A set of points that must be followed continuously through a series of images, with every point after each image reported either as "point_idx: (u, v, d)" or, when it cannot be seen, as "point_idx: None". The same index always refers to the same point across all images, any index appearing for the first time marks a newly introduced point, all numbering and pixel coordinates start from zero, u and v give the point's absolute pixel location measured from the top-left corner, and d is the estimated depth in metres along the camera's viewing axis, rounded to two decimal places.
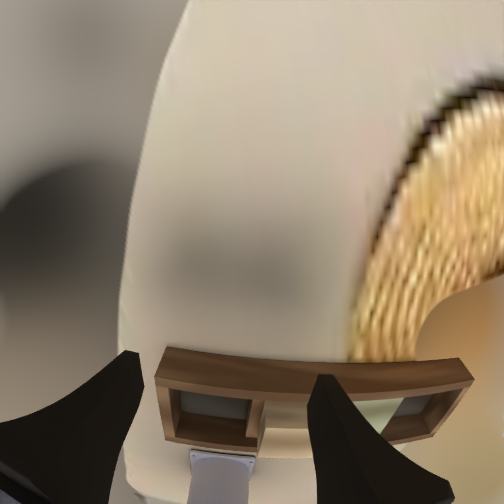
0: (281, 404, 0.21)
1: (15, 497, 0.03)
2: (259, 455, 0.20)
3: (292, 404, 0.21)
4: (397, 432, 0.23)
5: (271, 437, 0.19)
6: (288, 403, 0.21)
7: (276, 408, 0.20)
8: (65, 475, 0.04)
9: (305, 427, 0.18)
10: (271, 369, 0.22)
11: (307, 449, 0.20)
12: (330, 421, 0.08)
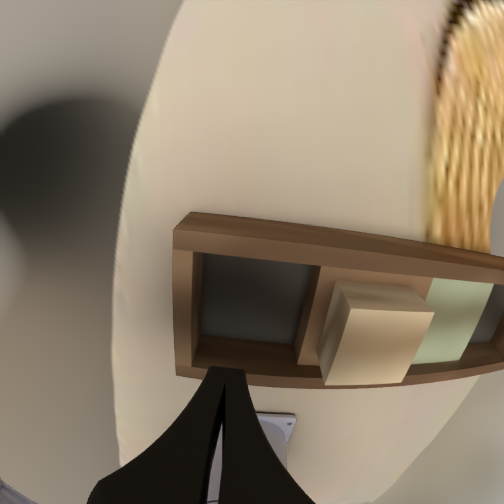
0: (359, 286, 0.15)
1: None
2: (328, 380, 0.14)
3: (374, 287, 0.15)
4: (476, 359, 0.18)
5: (354, 334, 0.13)
6: (368, 285, 0.15)
7: (355, 289, 0.14)
8: None
9: (404, 310, 0.13)
10: (341, 234, 0.16)
11: (397, 362, 0.14)
12: (224, 417, 0.08)
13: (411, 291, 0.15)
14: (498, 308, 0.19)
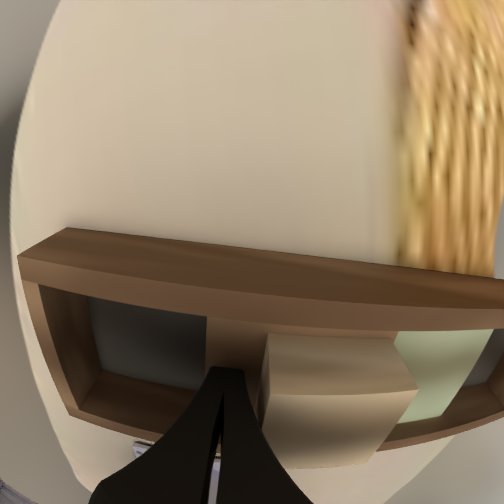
0: (304, 344, 0.10)
1: None
2: None
3: (327, 345, 0.10)
4: (464, 412, 0.13)
5: (282, 422, 0.08)
6: (319, 342, 0.10)
7: (293, 351, 0.09)
8: None
9: (366, 392, 0.08)
10: (247, 259, 0.11)
11: (358, 447, 0.09)
12: (223, 416, 0.08)
13: (389, 348, 0.10)
14: (499, 344, 0.14)
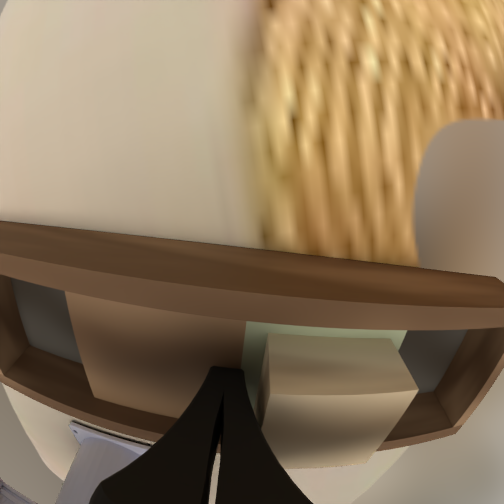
0: (304, 344, 0.10)
1: None
2: None
3: (327, 345, 0.10)
4: None
5: (282, 422, 0.08)
6: (319, 342, 0.10)
7: (293, 351, 0.09)
8: None
9: (366, 392, 0.08)
10: (97, 241, 0.11)
11: (358, 447, 0.09)
12: (223, 416, 0.08)
13: (389, 348, 0.10)
14: (443, 349, 0.13)
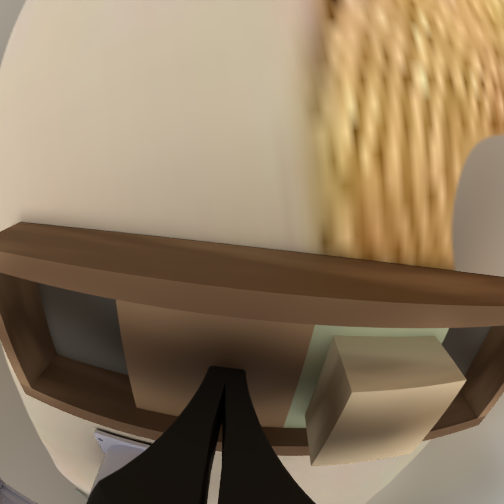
0: (366, 344, 0.10)
1: None
2: (316, 462, 0.09)
3: (386, 344, 0.10)
4: None
5: (355, 418, 0.08)
6: (379, 342, 0.10)
7: (360, 351, 0.09)
8: None
9: (427, 384, 0.08)
10: (153, 246, 0.11)
11: (409, 437, 0.09)
12: (224, 416, 0.08)
13: (436, 345, 0.10)
14: (469, 345, 0.14)
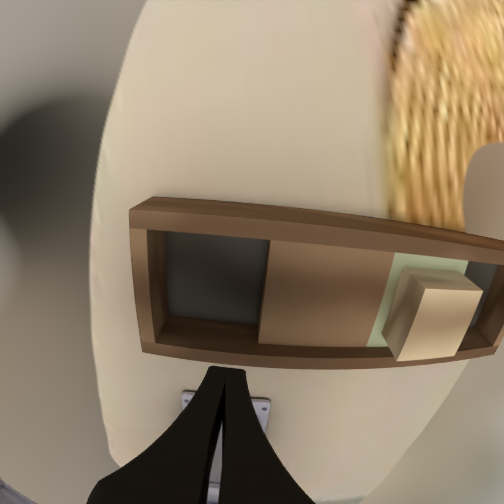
0: (422, 271, 0.16)
1: None
2: (400, 356, 0.15)
3: (432, 271, 0.16)
4: None
5: (425, 311, 0.14)
6: (428, 270, 0.16)
7: (420, 273, 0.15)
8: None
9: (461, 289, 0.13)
10: (293, 211, 0.16)
11: (453, 337, 0.15)
12: (224, 416, 0.08)
13: (460, 275, 0.16)
14: None
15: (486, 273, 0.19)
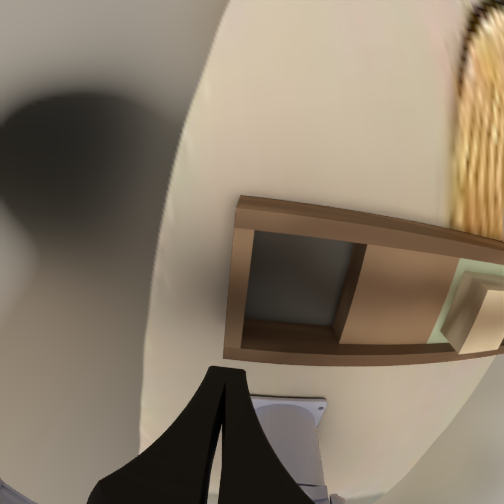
0: (478, 275, 0.16)
1: None
2: (461, 349, 0.15)
3: (485, 275, 0.16)
4: None
5: (485, 309, 0.14)
6: (482, 274, 0.16)
7: (478, 277, 0.15)
8: None
9: None
10: (381, 218, 0.16)
11: (499, 332, 0.15)
12: (224, 417, 0.08)
13: None
14: None
15: None
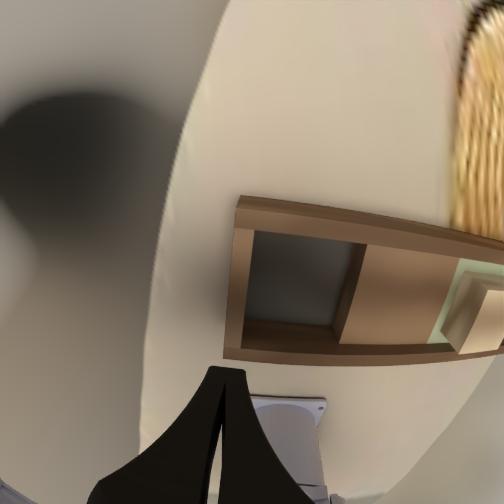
0: (478, 275, 0.16)
1: None
2: (461, 349, 0.15)
3: (485, 275, 0.16)
4: None
5: (485, 309, 0.14)
6: (482, 274, 0.16)
7: (478, 277, 0.15)
8: None
9: None
10: (381, 218, 0.16)
11: (499, 332, 0.15)
12: (224, 417, 0.08)
13: None
14: None
15: None
